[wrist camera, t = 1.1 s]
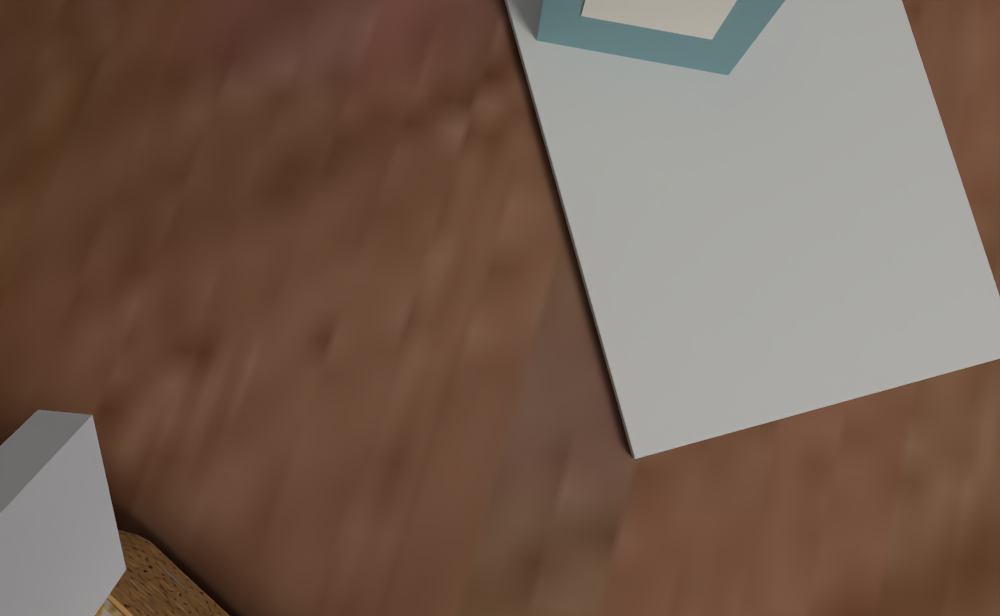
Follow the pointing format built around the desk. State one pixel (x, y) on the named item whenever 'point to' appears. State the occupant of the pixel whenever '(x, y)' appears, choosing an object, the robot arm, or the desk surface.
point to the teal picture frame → (660, 29)
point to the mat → (763, 220)
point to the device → (154, 585)
